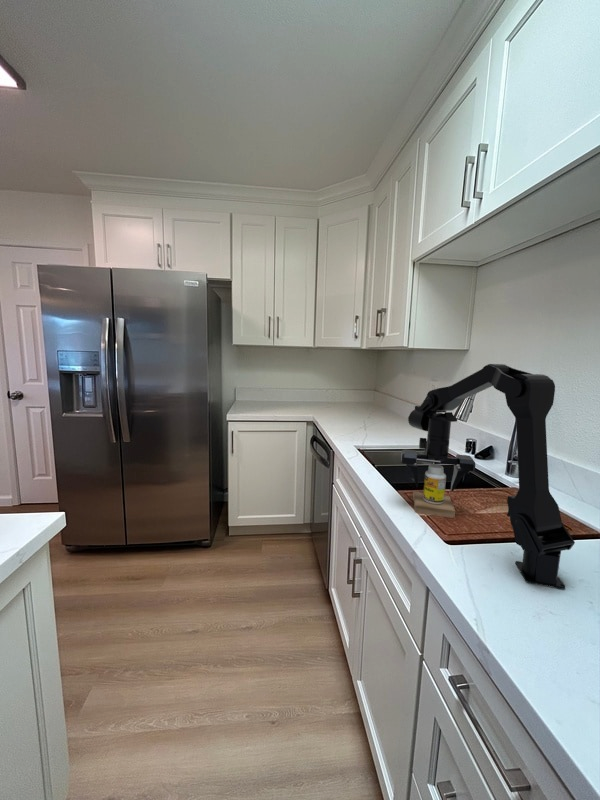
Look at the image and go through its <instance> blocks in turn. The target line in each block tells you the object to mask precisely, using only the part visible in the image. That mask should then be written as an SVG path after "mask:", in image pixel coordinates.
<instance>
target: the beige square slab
mask: <svg viewBox="0 0 600 800" xmlns="http://www.w3.org/2000/svg"><path fill="white" fill-rule="evenodd" d="M412 500H413V506H414V513H416V514H421V515H422V514H424V515H430V516H438V517H443V518H444V517H445V518H449V519H450V518H451V519H455V516H456V515H455V514H456V510H455V509H456V508H455V506H454V504H453V502H452V500H451V498H450V495H444V502H443V503H442V504H431V503H428V502H426V501H425V500H424V499H423V492H419V491H413V495H412Z"/></svg>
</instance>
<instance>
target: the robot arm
mask: <svg viewBox="0 0 600 800" xmlns="http://www.w3.org/2000/svg"><path fill="white" fill-rule="evenodd" d="M491 387H493V388H494V389H495V390H496V391H499V392H500V393H502V394H504V396H505V401H506V405H507V407H508V409H509V410H510V411H511V413H512V415H513V416H514V418H515V428H516V431H515V432H516V450H517V468H518V469H517V471H518V472H517V473H518V490H517V492H516V494H515V495H508V496H507V499H506V500H507V501H506V502H507V508H508V509H507V511H508V512H507V514H506V516H507V517H509V521H510V524H511V528H512V531H513V535H514V536H513V537H514V541H515V544H516V545H518V546H520V547H521V550H523V553H522V554H523V557H522V561H519V560H516V561H514V562H515V563H514V564H515V566H516V567H517V569H518V571H519V573H520V574H521V576H522V578H523V580H524V581H525V582H526V583H528V584H533V585H538V586H539V585H540V586H546V587H551V588H555V589H556V588H557V589H560V590H565V589H566V584H564V582H563V580H562V579H561V578H560V577H559V569H560V562H561V554H562V551H569V550H570V551H571V549H572V548H573V546H574V545H575V540H574V539H573V537H572V535H571V534H570V533H569V531H568V529H567V527H565V524H564V523H563V522H562V517H561V513H560V506H559V504H558V503H557V502H556V500H555V498H554V496H553V495H552V493H551V492H550V487H549V483H550V481H549V463H548V443H547V442H548V441H547V425H546V424H547V423H546V419H547V416H548V414H549V412H550V411H551V409H552V407H553V405H554V401H555V394H556V385H555V381H554V379H552V378H550V377H549V376H548V375H546V374H537V373H536V374H534V373H531V372H528V371H527V372H526V371H523V370H520V369H516V368H513V367H511V366H509V365H507V364H503V363H502V364H501V363H489V364H486V365H484V366H482V368H481V369H479V370H477V371H476V372H474V373H471V374H470V375H468V376H466V377H464V378H463V379H460V380H459V381H457V382H455V383H454V384H453V383H452V384H451V385H448V386H444V387H439V388H438V387H437V388H435V389H432V390H429V391H428V392H427V394H426V397H425V398H424V400H423V402H422V403H421V404H420V405H415V406H414V409H413V410H412V411H411V412H410V414H409V416H407V417H408V418H407V419H408V424H409V426H411V428H414V429H415V428H416V429H418V430H421V431H423V432H424V431H425V432H427V436H426V437H419V443H418V448H419V449H420V450H424V454H419V453H417V451H416V450H414V449H402V450H401V454H400V455H401V456H400V461H401V464H403V465H405V466H406V467H407V468H410V471H411V473H412V475H413V480H414V483H415V487H416V488H417V489H418V487H419V474H418V473H419V472H418V463H417V462H423V463H425V462H426V463H432V464H442V465H445V464H446V465H453V473H452V477H451V482H450V492H452V493H453V492H454V491H455V489H456V487H457V486H458V484H459V482H460V481H461V480H462V479H463V477H464V476H465V474H466V475H467V474H470V471H471V472H475V471H476V461H475V460H474V459H473V457H472V456H470V455H469V454H468V455H466V454H456V456H455V457H451V456H449V452H450V451H449V450H450V439H451V427H452V426H451V425H452V423H453V422H454V423H455V422H458V418H457V417H456V416H455V415H454V414H453V412H452V411H454V410H455V409H457V408H458V407H460V406H461V405H462V402H463V401H464V400H466V399H468V398H469V397H471V396H473V395H476V394H479V393H480V392H482V391H485V390H487V389H489V388H491Z"/></svg>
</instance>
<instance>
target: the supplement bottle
mask: <svg viewBox="0 0 600 800" xmlns="http://www.w3.org/2000/svg"><path fill="white" fill-rule="evenodd" d="M444 469H445V467H444V466H443V465H441V464H438V463H431V464H428V468H427V470H426V471H424V481H423V491H422V493H423V499H424V500H425V501H426V502H428V503H431V504H442V503H443V502H444V496H446V495H445V493H446V482H447V475H446V473H445V472H444Z"/></svg>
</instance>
